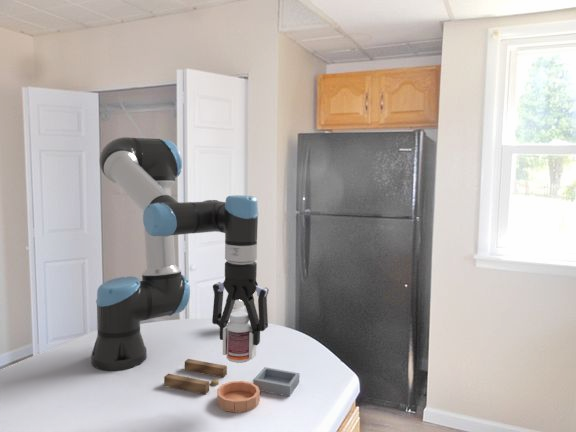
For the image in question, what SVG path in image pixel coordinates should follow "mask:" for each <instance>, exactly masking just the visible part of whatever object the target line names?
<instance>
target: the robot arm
mask: <svg viewBox="0 0 576 432" xmlns="http://www.w3.org/2000/svg"><path fill="white" fill-rule="evenodd" d="M181 155H182V154H181V152H180V150H179V148H178V146H177V145H176V144H175V143H174V142H173V141H171V140H168V139H167V140H166V139H161V138H144V137H142V138H141V137H140V138H139V137H129V136H128V137H127V136H126V137H125V136H123V137H119V138H118V137H117V138H116V139H115V138H114V140H112V141H109V142H108V143H107V144H106V145H105V146H104V147H103V148H102V150H101V152H100V155H99V167H100V169H101V172H102V174H104V177H106V178H107V179H108V181H110V182H112V183H113V184H117V185H118V186H119V187H120V188H121V189H122V190H123V191H124V192H125V194H126V195H127V196H128V197H129V198H130V199H131V200H132V201H133V203H135V204H136V206H138V208H139V209H140V210H141V211H142V221H143V229H144V231H143V232H144V245H145V259H146V263H145V264H146V268H145V270H144V271H143V272H142V273H141V280H140V278H138V277H136V276H120V277H116V278H113V279H108V280H107V281H105V282H102V283H101V285H99V287H97V291H96V294H97V295H96V301H95V303H96V320H97V321H96V323H97V325H96V327H97V329H96V330H97V336H96V338H95V339H96V340H95V343H94V345H93V349H92V352H91V354H90V355H91V356H90V357H91V359H90V361H91V366H93V367H94V368H96V369H97V370H98V369H99V370H102V371H103V370H104V371H121V370H122V371H123V370H126V369H130V368H134V367H136V366H139V365H140V364H142V363H144V362H145V361H146V359H147V355H148V354H147V347H146V345H145V343H144V339H143V336H142V334H141V322H142V321H147V320H152V319H156V318H162V317H165V316H166V317H167V316H169V317H170V316H171V317H172V316H173V315H176V314H179V313H181V312H183V311H184V310H185V309H186V308H187V306H188V304H189V303H190V299H191V298H190V297H191V286H190V283H189V280H188V278H187V276H186V275H184V274H182V270H181V269H180V268H179V266H177V265H176V252H175V236H177V235H178V236H179V235H188V234H189V235H190V234H200V233H201V234H202V233H203V234H204V233H213V232H217V233H222V234H224V235H225V236H224V239H225V240H224V243H225V244H224V247H225V248H224V260H226V261H225V263H224V280H223V282H221V281H219V282H216V283H214V284H213V285H212V290H213V295H214V296H213V306H212V307H213V308H212V309H213V310H212V317H211V318H212V320H211V323H212V324H213V325H217V326H218V327H219V339H220V341H222V355H223V356H227V325H228V323H229V322H230V319H229V318H230V314H231V312H232V309H233V306H234V303H235V301H236V300H241V301H243V302H244V305H245V309H246V312H247V313H248V317H249V322H250V324H251V327H252V331H251V332H249V359H250V361H252V360H253V359H254V358H255V357H256V356H257V346H258V345H259V344H260V342H261V332H264V331H266V329H267V328H268V327H269V321H268V319H269V318H268V301H267V300H268V299H267V298H268V294H269V288H268V287H261V286H259V285H258V282H257V268H258V267H257V262H256V261H257V260H258V219H259V218H258V217H259V212H258V210H259V209H258V199H257V197H255V196H252V195H234V194H233V195H228V196H227V197H226V198H225V201H220V200H218V199H216V200H215V199H207V200H203V201H194V202H193V201H192V202H191V201H188V202H187V201H185V202H180V201H179V202H178V201H177V199H175V198H174V197H173V196H172V189H171V188H172V187H173V186H174V185H175V184H176V178H177V177H179V176H180V175H181V172H182V168H183V160H182V156H181ZM224 291H226V292H227V297H226V300H225V303H226V305H224V307H223V301H224ZM255 293H256V296H257V297H258V300H257V307H258V312H257V309H256V304H255V298H254V294H255ZM223 308H224V309H223Z"/></svg>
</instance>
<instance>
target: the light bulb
mask: <svg viewBox="0 0 576 432" xmlns="http://www.w3.org/2000/svg"><path fill="white" fill-rule="evenodd" d="M224 304H225V305H226V302H225V303H224ZM225 305H224V306H225ZM245 309H246V306H245V305H244V302H243V301H241V300H236V301H235V303H234V306H233V309H232V312H237V311H243V312H245ZM232 312H231V313H232ZM229 322H231V320H230V318H229Z"/></svg>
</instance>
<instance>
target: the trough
mask: <svg viewBox="0 0 576 432" xmlns="http://www.w3.org/2000/svg"><path fill="white" fill-rule="evenodd" d="M300 375H301V374H300V373H299V372H295V371H288V370H283V369H277V368H271V367H266V366H264V367H263V368H262V370H260V372H259V373H258V374H257V375H256V376H255V377H254V378H253V381H252V383H253V384H255V385H256V386H258V387H259V391H260V392H267V393H271V394H275V395H276V394H277V395H281V396H285V395H286V397H291V395H292V394H293V392H294V391H295V390H296V388H297V386H298V385H299V383H300ZM294 389H295V390H294Z"/></svg>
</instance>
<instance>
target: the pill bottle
mask: <svg viewBox="0 0 576 432" xmlns="http://www.w3.org/2000/svg"><path fill="white" fill-rule="evenodd" d="M230 320H231V322H230ZM228 322H229V323H228V324H227V354H226V360H228V361H229V362H232V363H237V364H239V363H240V364H241V363H242V364H243V363H248V362H249V361H251V359H249V332H251V331H252V327H251V324H250V320H249V317H248V313H247V311H237V312H232V313H231V314H230V319H229V321H228Z"/></svg>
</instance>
